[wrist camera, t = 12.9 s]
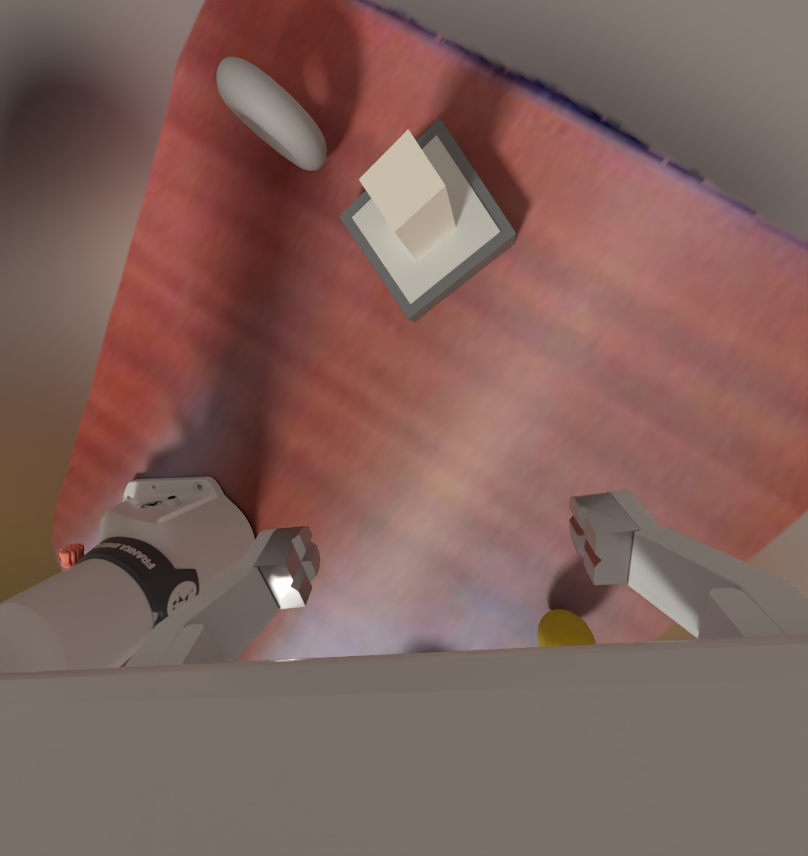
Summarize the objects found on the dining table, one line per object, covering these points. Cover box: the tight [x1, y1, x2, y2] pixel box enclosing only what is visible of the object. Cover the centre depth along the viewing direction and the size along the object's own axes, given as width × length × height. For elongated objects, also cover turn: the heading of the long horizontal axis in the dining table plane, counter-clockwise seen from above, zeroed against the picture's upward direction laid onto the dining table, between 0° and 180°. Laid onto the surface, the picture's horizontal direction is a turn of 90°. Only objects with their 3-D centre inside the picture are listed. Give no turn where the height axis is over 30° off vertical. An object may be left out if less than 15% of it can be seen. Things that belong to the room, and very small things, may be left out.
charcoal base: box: [339, 117, 516, 322], centre depth 33 cm, size 12×12×3 cm
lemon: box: [538, 609, 596, 647], centre depth 36 cm, size 6×6×8 cm
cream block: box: [359, 130, 456, 261], centre depth 28 cm, size 4×4×8 cm
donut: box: [216, 57, 327, 171], centre depth 31 cm, size 10×4×10 cm, turn 56°
